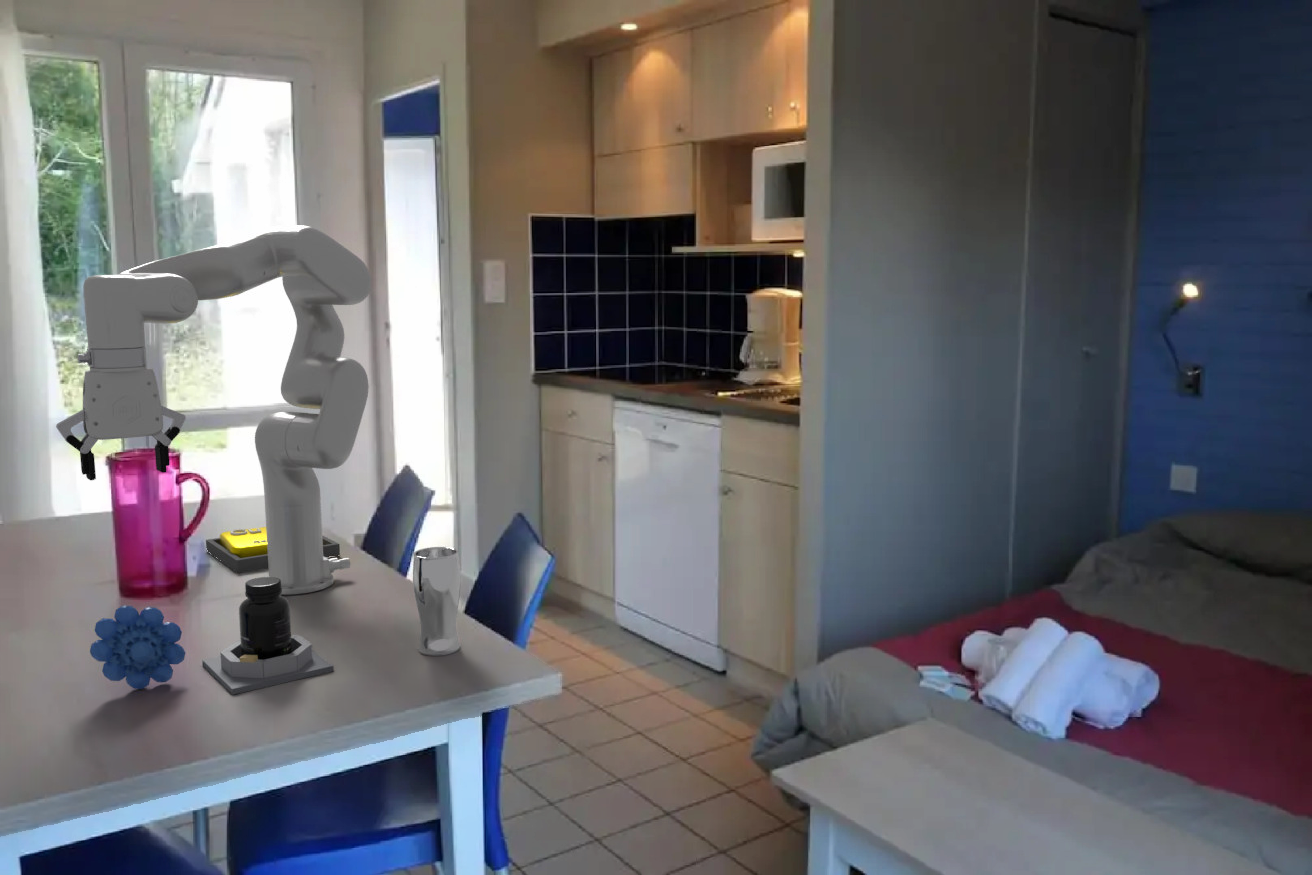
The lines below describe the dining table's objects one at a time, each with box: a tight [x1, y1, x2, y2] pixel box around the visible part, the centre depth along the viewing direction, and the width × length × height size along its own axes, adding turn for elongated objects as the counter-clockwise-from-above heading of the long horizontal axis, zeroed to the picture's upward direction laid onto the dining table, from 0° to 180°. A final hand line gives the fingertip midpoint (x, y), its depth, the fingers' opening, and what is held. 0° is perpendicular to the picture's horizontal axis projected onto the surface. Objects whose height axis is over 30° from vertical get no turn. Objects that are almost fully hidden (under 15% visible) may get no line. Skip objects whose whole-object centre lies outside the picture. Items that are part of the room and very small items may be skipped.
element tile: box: [219, 526, 268, 558], centre depth 216 cm, size 15×15×5 cm
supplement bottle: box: [238, 576, 292, 660], centre depth 153 cm, size 7×7×12 cm
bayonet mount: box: [201, 634, 335, 696], centre depth 154 cm, size 14×14×4 cm
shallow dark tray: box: [205, 534, 341, 574], centre depth 216 cm, size 20×20×2 cm
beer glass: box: [412, 546, 462, 657], centre depth 161 cm, size 7×7×15 cm
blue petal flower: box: [89, 604, 186, 690], centre depth 145 cm, size 12×7×12 cm, turn 125°
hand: (126, 475), depth 160 cm, fingers open, 9 cm apart
